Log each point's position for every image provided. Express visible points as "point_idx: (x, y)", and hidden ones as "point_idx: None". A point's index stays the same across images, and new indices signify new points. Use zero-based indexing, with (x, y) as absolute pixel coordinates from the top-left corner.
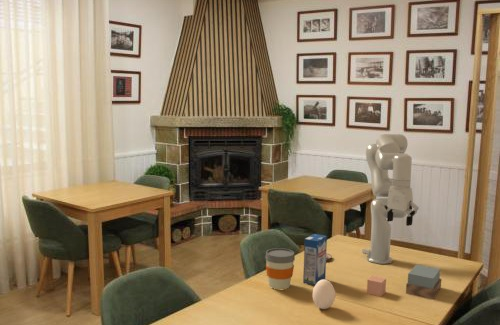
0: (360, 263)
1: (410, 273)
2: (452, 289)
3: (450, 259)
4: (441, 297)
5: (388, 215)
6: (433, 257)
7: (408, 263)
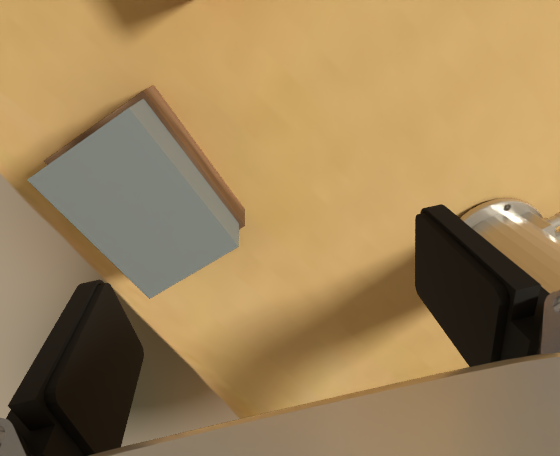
0: (518, 148)
1: (126, 120)
2: None
3: None
4: None
5: (477, 256)
6: None
7: (400, 312)
